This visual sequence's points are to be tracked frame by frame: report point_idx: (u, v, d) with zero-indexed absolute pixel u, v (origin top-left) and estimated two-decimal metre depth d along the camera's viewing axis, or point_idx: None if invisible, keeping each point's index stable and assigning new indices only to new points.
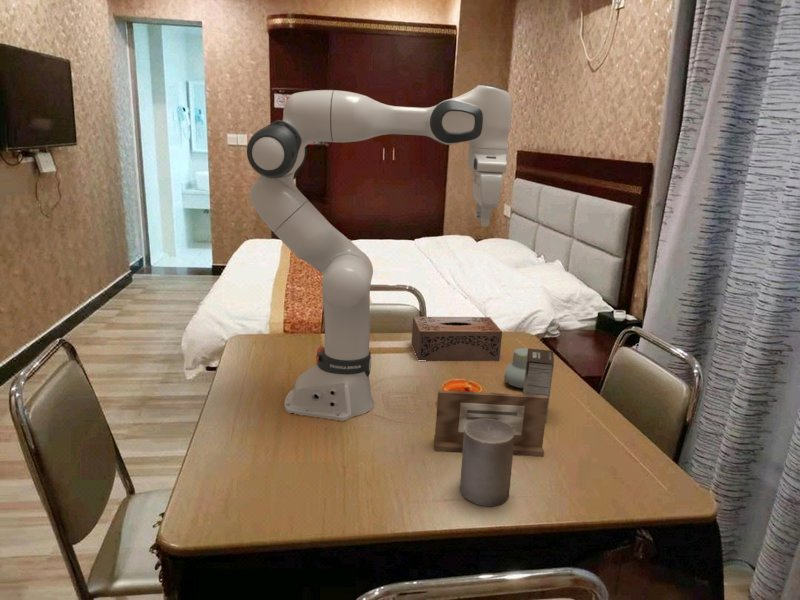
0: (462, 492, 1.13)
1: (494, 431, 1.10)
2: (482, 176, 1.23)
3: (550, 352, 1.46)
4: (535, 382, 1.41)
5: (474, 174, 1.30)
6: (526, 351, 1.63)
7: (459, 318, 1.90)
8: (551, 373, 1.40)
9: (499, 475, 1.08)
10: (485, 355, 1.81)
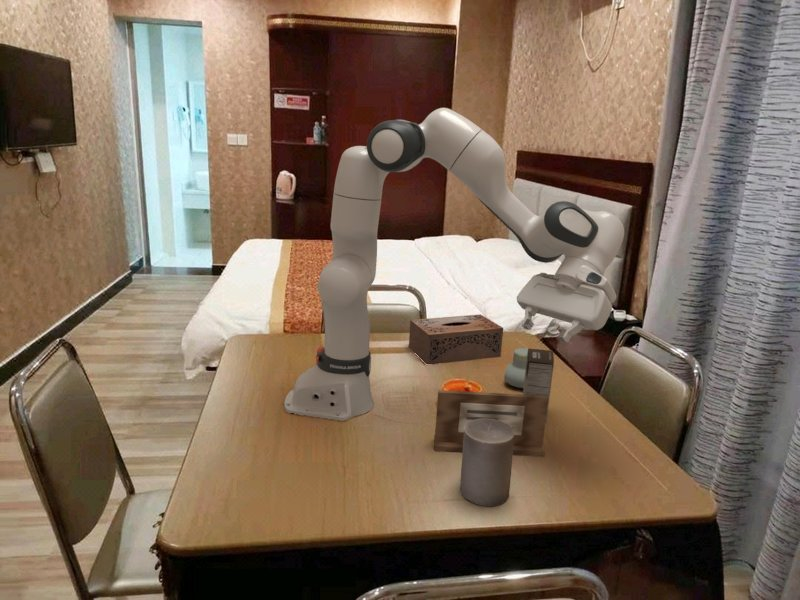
0: (462, 492, 1.13)
1: (494, 431, 1.10)
2: (605, 294, 1.14)
3: (550, 352, 1.46)
4: (535, 382, 1.41)
5: (569, 284, 1.19)
6: (526, 351, 1.63)
7: (454, 318, 1.90)
8: (551, 373, 1.40)
9: (499, 475, 1.08)
10: (488, 353, 1.83)
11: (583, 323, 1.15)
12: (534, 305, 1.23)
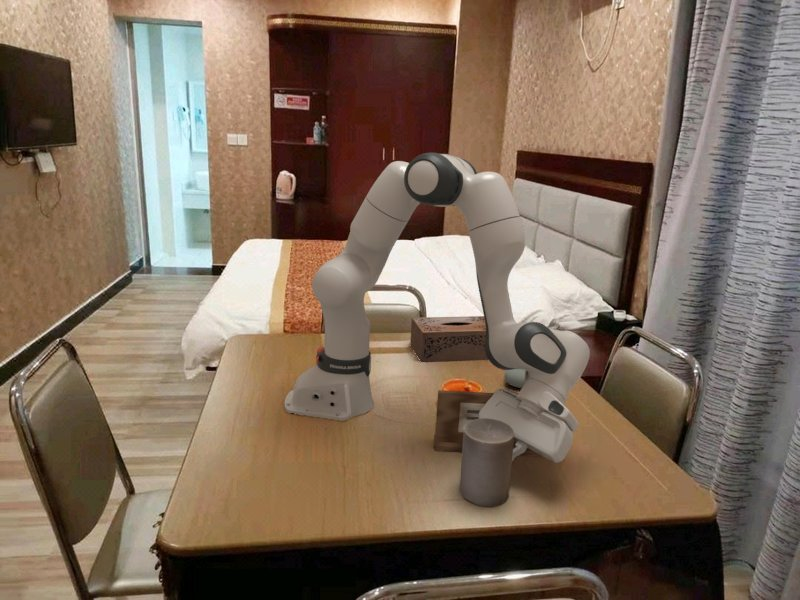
0: (462, 492, 1.13)
1: (493, 431, 1.10)
2: (566, 427, 1.11)
3: None
4: None
5: (531, 410, 1.16)
6: None
7: (457, 318, 1.90)
8: None
9: (499, 475, 1.08)
10: None
11: (543, 454, 1.12)
12: None
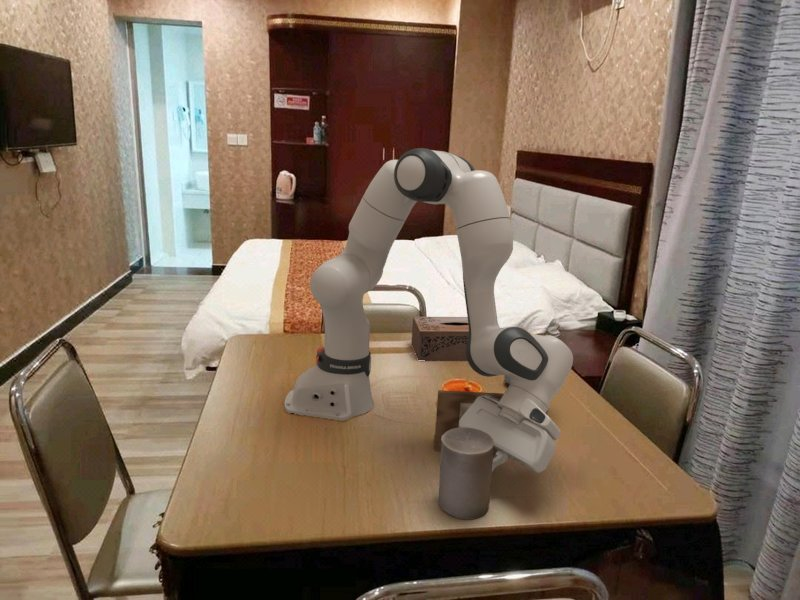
0: (440, 504, 1.09)
1: (472, 441, 1.06)
2: (547, 435, 1.07)
3: None
4: None
5: (512, 418, 1.12)
6: None
7: (459, 318, 1.90)
8: None
9: (478, 487, 1.04)
10: None
11: (524, 464, 1.09)
12: None
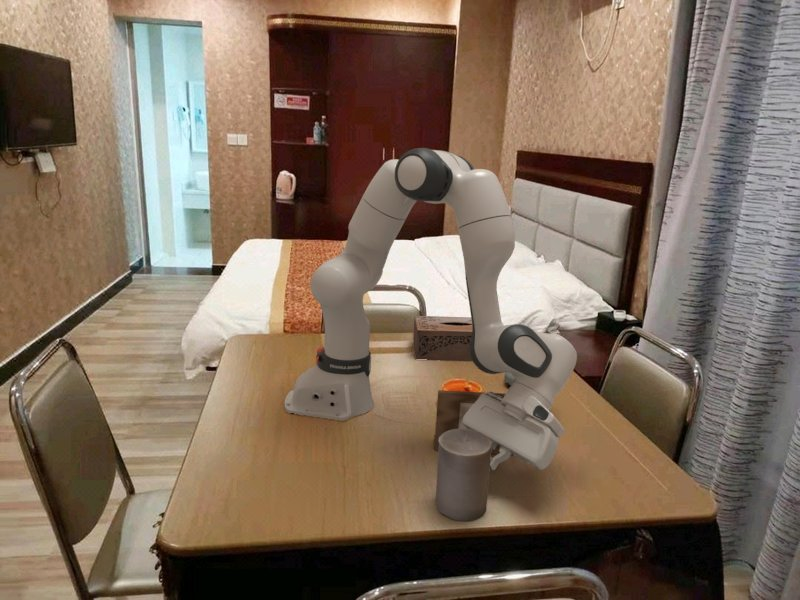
0: (438, 506, 1.08)
1: (470, 442, 1.06)
2: (551, 432, 1.08)
3: None
4: None
5: (516, 415, 1.13)
6: None
7: (461, 318, 1.90)
8: None
9: (476, 488, 1.04)
10: None
11: (527, 461, 1.09)
12: (479, 431, 1.16)
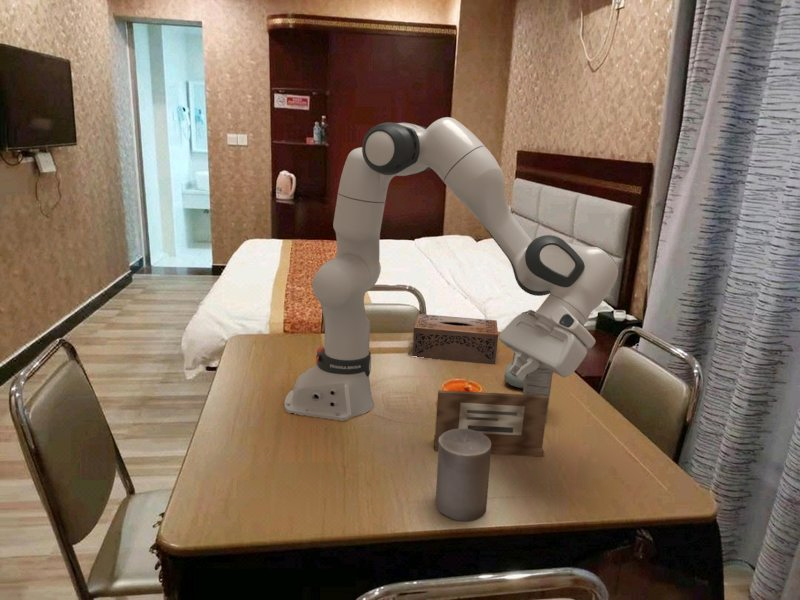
0: (438, 506, 1.08)
1: (470, 442, 1.06)
2: (574, 339, 1.05)
3: None
4: (535, 382, 1.41)
5: (545, 325, 1.11)
6: None
7: (463, 319, 1.89)
8: (551, 373, 1.40)
9: (476, 488, 1.04)
10: (481, 358, 1.79)
11: (551, 369, 1.07)
12: (511, 345, 1.17)
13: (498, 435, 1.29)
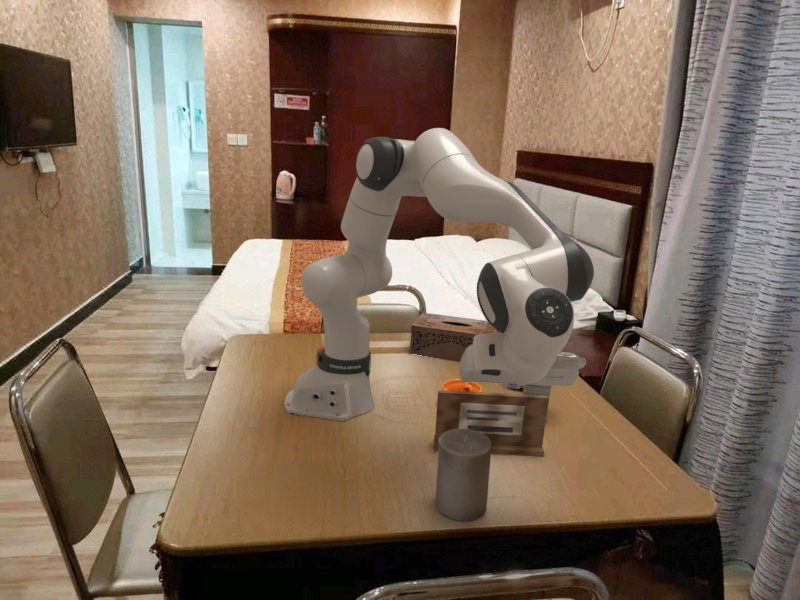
0: (438, 506, 1.08)
1: (470, 442, 1.06)
2: (469, 347, 0.99)
3: None
4: None
5: None
6: None
7: (466, 319, 1.89)
8: None
9: (476, 488, 1.04)
10: None
11: None
12: None
13: (498, 435, 1.29)
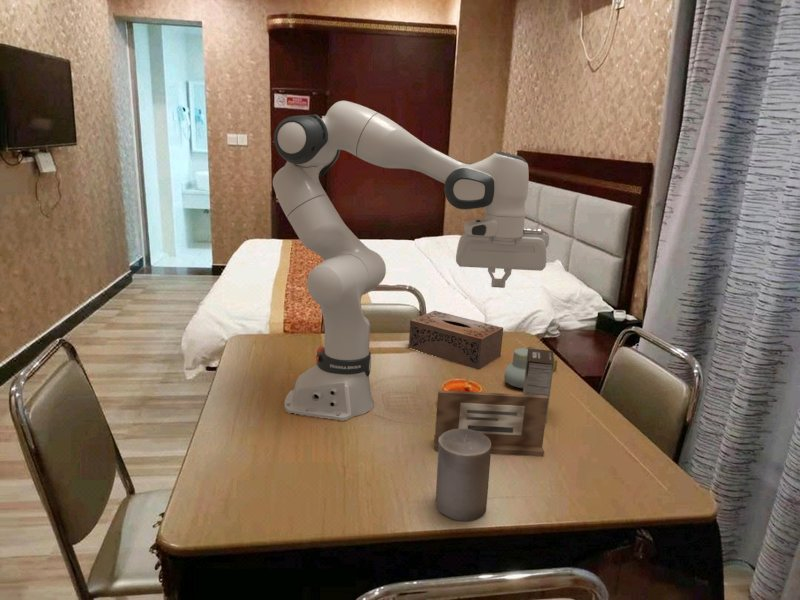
0: (438, 506, 1.08)
1: (470, 442, 1.06)
2: None
3: (551, 352, 1.46)
4: (535, 382, 1.41)
5: None
6: (526, 351, 1.63)
7: (471, 321, 1.88)
8: (551, 373, 1.40)
9: (476, 488, 1.04)
10: (466, 360, 1.76)
11: None
12: None
13: (498, 435, 1.29)
